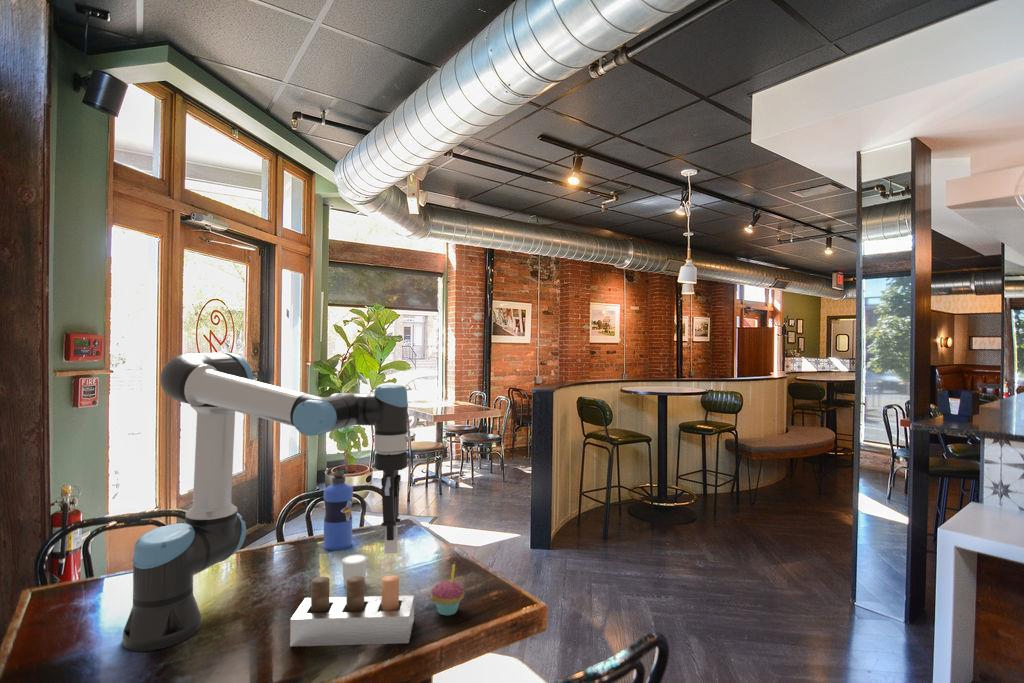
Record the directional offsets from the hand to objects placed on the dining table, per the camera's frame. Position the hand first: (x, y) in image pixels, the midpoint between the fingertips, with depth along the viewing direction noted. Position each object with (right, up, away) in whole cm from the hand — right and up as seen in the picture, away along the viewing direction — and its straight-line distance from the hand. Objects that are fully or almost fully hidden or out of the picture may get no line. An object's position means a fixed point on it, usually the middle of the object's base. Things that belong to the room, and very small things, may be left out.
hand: (391, 552), depth 124 cm
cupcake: (+12, -19, +9) cm, 24 cm away
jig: (-8, -18, -1) cm, 20 cm away
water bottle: (-30, -19, +53) cm, 64 cm away
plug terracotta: (0, -13, 0) cm, 13 cm away
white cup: (-16, -19, +25) cm, 35 cm away
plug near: (-16, -13, -1) cm, 21 cm away
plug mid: (-8, -13, -1) cm, 15 cm away
